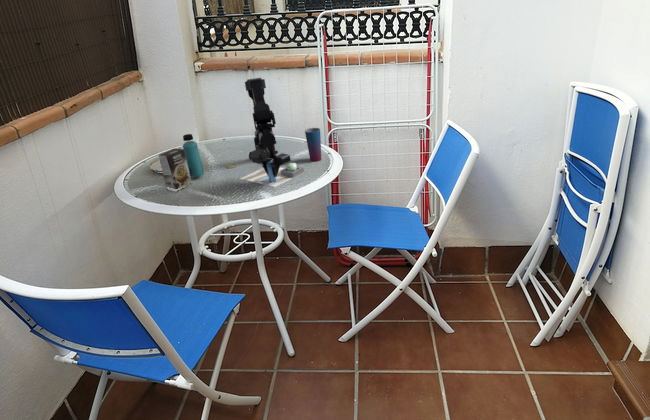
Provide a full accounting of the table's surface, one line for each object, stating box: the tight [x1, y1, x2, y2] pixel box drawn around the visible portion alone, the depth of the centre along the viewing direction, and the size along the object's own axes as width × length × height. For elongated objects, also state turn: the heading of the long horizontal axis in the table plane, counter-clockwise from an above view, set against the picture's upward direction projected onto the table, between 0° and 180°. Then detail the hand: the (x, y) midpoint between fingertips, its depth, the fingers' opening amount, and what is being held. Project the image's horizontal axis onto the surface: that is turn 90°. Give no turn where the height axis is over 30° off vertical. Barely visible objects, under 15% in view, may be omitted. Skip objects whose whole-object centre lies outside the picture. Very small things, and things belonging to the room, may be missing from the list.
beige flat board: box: [240, 166, 299, 188], centre depth 208 cm, size 23×20×1 cm
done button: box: [286, 162, 297, 172], centre depth 206 cm, size 4×4×3 cm
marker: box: [266, 160, 276, 183], centre depth 199 cm, size 3×3×8 cm
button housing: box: [281, 165, 305, 179], centre depth 207 cm, size 7×7×2 cm
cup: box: [304, 127, 322, 163], centre depth 217 cm, size 7×7×15 cm
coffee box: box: [158, 148, 193, 189], centre depth 205 cm, size 9×6×16 cm
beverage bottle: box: [182, 133, 205, 178], centre depth 213 cm, size 6×7×20 cm
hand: (272, 176), depth 200 cm, fingers open, 3 cm apart
